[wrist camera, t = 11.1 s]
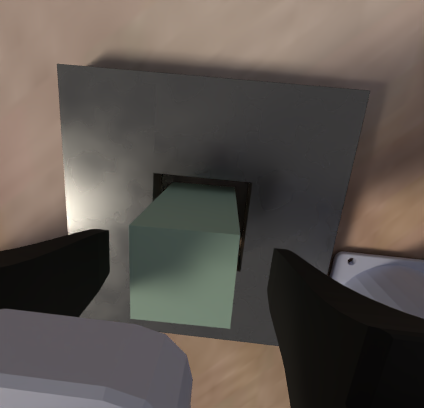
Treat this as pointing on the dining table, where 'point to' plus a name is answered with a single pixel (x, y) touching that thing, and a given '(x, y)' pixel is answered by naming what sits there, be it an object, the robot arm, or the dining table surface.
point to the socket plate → (207, 171)
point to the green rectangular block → (185, 256)
